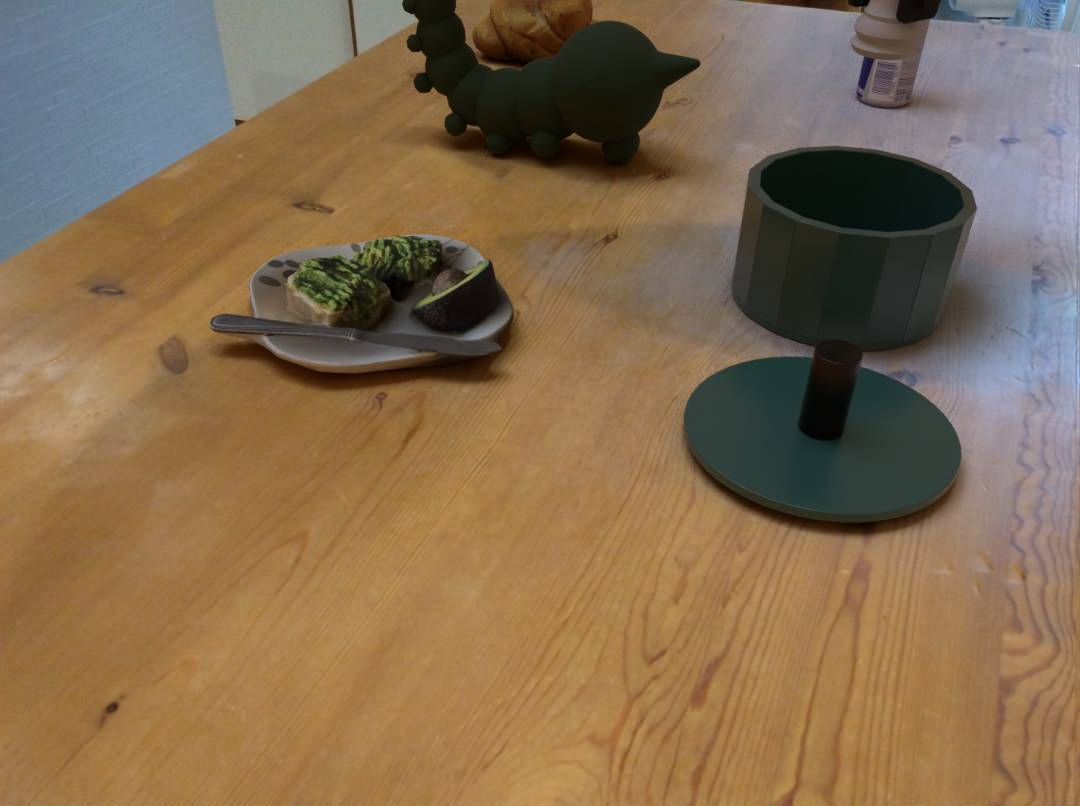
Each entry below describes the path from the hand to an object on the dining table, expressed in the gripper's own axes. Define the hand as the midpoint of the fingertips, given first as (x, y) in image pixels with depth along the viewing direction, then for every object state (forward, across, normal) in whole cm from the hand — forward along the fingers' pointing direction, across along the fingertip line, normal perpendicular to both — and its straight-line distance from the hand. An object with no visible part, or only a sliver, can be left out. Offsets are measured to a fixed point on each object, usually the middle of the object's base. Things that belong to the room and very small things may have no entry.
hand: (891, 8), depth 69 cm
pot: (+17, -5, +5) cm, 19 cm away
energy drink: (+17, +23, -29) cm, 41 cm away
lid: (+17, -17, +19) cm, 31 cm away
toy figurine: (+17, +28, +8) cm, 34 cm away
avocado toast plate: (+17, +9, +34) cm, 39 cm away
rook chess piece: (+3, 0, 0) cm, 3 cm away
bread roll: (+17, +51, -6) cm, 54 cm away
